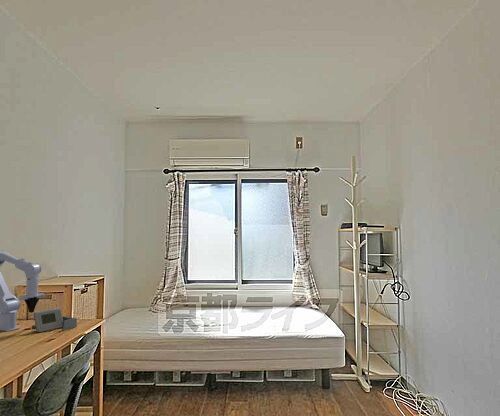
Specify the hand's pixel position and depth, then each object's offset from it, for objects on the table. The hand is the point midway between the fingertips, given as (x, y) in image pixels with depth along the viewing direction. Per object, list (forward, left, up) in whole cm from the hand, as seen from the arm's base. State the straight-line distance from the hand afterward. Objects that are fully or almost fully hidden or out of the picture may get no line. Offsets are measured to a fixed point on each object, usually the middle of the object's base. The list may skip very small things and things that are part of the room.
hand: (31, 312), depth 228 cm
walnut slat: (-5, +10, -10) cm, 15 cm away
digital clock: (+6, +6, -10) cm, 13 cm away
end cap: (+8, +12, -10) cm, 17 cm away
